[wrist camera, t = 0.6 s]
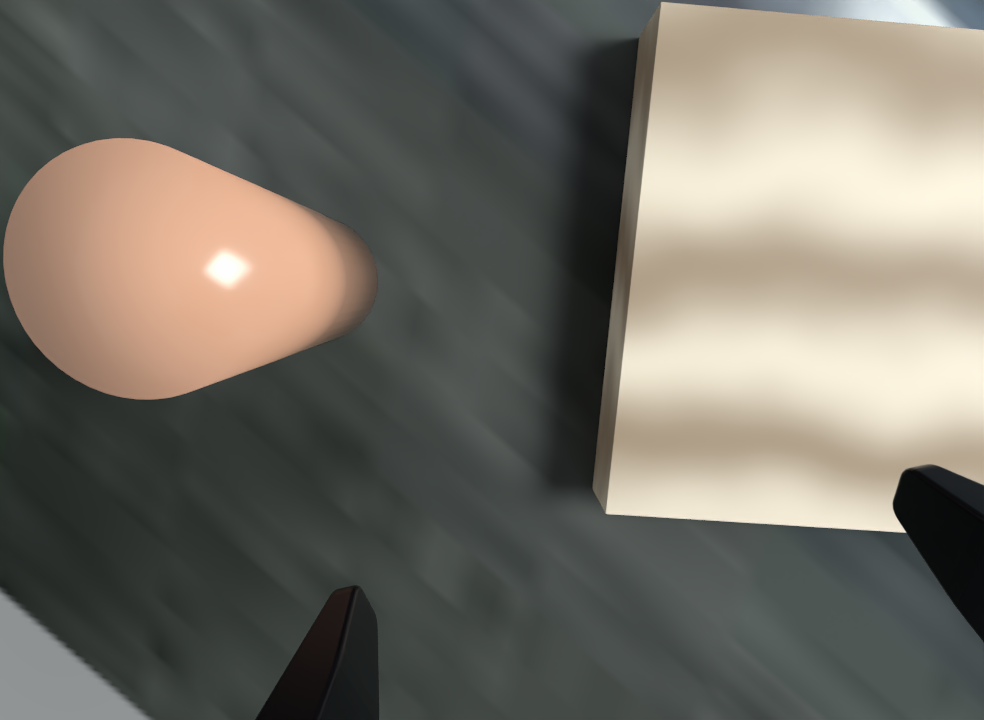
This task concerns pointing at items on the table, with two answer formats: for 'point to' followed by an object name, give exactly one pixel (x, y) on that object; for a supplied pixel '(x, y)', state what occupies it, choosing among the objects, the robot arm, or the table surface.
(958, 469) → the birch base plate
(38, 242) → the peach capsule
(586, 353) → the table surface
